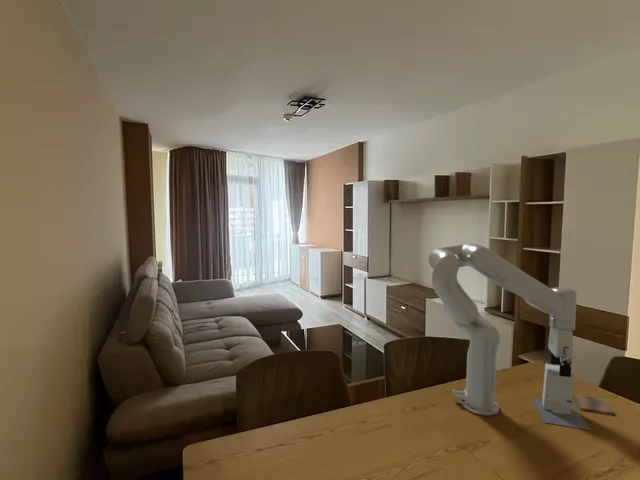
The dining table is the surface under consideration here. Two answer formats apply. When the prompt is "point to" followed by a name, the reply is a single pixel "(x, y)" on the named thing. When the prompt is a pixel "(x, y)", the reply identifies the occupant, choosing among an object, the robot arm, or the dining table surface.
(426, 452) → the dining table surface
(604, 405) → the coaster
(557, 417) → the gray tile
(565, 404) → the skincare box
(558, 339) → the robot arm
